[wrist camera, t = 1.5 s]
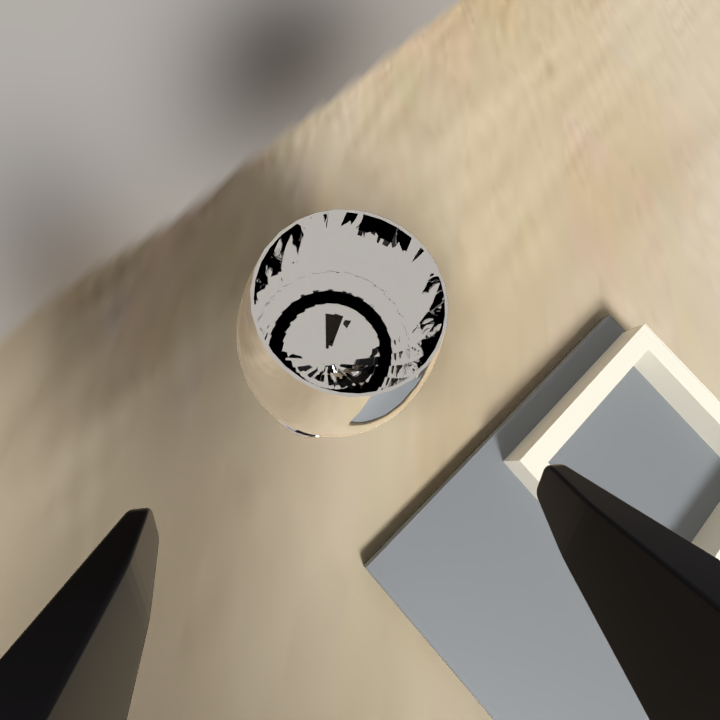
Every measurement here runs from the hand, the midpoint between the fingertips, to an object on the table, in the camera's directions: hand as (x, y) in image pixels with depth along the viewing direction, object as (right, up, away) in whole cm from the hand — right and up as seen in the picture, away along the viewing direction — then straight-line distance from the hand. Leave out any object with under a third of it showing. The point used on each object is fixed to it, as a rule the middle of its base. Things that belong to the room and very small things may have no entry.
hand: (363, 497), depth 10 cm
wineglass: (-2, +1, +12) cm, 12 cm away
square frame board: (+12, -6, +12) cm, 18 cm away
